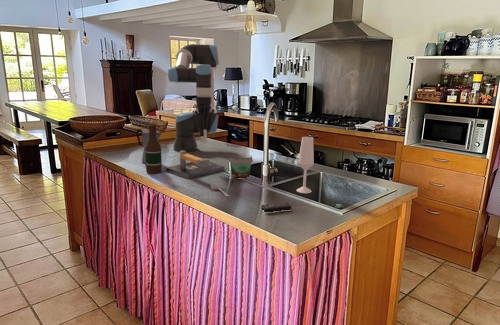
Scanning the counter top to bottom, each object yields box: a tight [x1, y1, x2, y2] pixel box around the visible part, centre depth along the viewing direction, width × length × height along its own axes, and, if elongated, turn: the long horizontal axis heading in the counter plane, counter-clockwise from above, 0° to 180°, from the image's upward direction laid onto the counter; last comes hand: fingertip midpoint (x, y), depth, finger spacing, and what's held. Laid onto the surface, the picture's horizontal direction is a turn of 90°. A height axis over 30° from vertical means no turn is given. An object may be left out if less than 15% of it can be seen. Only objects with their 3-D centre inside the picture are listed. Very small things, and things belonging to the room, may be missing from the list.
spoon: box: [210, 183, 230, 197], centre depth 159 cm, size 4×21×2 cm, turn 32°
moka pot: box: [135, 128, 162, 164], centre depth 203 cm, size 10×15×20 cm, turn 79°
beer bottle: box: [145, 123, 163, 175], centre depth 185 cm, size 8×8×24 cm
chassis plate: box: [165, 161, 226, 180], centre depth 192 cm, size 24×18×2 cm
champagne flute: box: [296, 136, 315, 194], centre depth 163 cm, size 7×7×24 cm
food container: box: [228, 155, 254, 179], centre depth 181 cm, size 12×6×10 cm, turn 117°
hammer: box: [179, 151, 210, 170], centre depth 178 cm, size 20×5×9 cm, turn 42°
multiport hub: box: [260, 202, 292, 212], centre depth 142 cm, size 4×11×2 cm, turn 109°
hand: (203, 142), depth 193 cm, fingers closed
